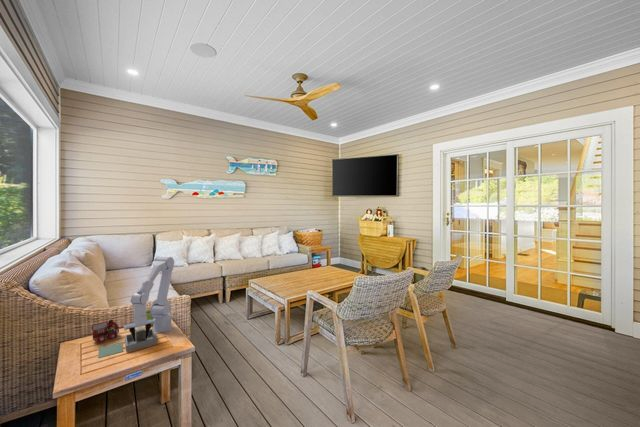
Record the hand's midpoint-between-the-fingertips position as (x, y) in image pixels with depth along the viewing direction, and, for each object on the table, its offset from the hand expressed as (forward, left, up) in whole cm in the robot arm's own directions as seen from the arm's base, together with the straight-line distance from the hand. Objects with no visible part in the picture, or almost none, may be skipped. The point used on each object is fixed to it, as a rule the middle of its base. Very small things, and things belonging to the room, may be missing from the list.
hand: (140, 339), depth 151 cm
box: (0, 0, -2) cm, 2 cm away
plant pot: (-9, -23, -2) cm, 25 cm away
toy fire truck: (+15, -17, -2) cm, 23 cm away
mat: (+13, 0, -2) cm, 13 cm away
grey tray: (0, 0, -2) cm, 2 cm away
